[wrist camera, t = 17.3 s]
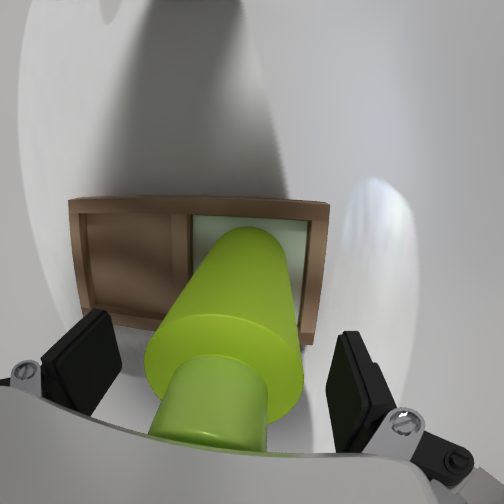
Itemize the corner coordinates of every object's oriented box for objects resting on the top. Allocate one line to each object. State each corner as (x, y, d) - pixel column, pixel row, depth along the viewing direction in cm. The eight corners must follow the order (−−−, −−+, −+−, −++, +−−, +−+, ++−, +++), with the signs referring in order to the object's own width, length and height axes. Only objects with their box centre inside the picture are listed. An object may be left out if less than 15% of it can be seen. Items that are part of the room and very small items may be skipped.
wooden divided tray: (82, 197, 23) (46, 204, 18) (324, 202, 21) (339, 210, 16) (94, 308, 26) (66, 332, 21) (310, 331, 24) (317, 366, 19)
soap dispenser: (268, 317, 23) (257, 582, 4) (196, 273, 22) (52, 518, 3) (312, 261, 21) (408, 552, 2) (235, 211, 21) (47, 493, 2)
